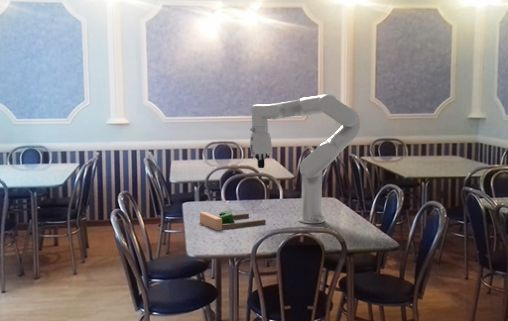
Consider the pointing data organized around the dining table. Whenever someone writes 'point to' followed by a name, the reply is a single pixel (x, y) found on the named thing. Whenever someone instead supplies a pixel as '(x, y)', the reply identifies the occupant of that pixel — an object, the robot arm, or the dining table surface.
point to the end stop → (211, 220)
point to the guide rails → (242, 224)
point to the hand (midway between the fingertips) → (261, 167)
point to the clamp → (226, 217)
